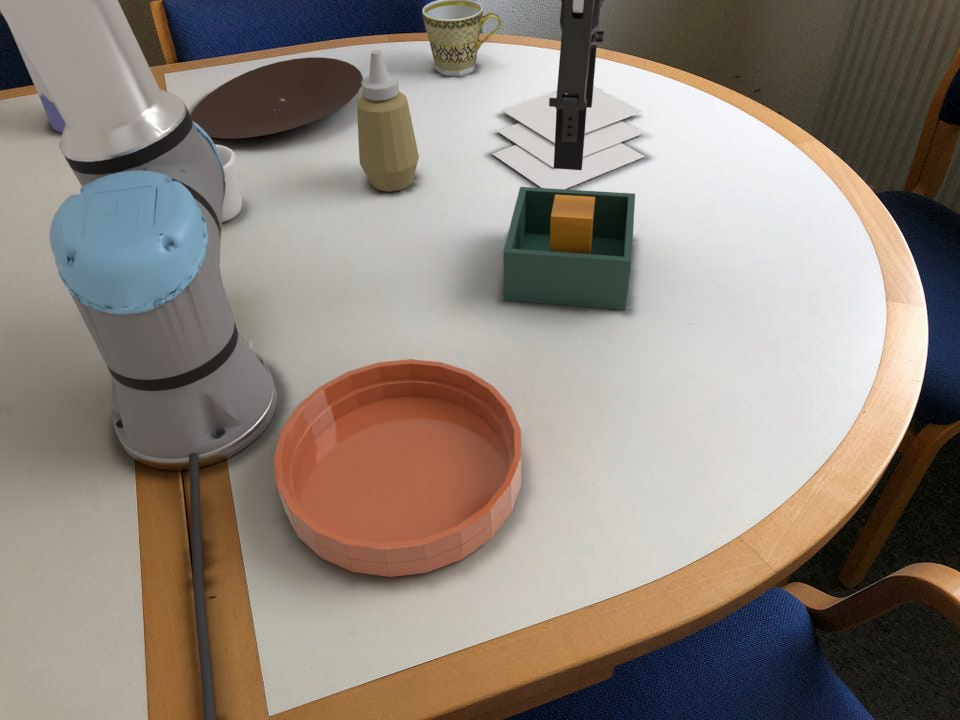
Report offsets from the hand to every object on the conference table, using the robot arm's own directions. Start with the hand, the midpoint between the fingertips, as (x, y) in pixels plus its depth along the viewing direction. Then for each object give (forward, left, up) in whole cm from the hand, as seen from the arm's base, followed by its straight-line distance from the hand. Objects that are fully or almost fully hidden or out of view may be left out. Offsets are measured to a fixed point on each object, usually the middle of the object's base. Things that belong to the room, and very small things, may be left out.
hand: (573, 135), depth 82 cm
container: (+30, +80, -17) cm, 87 cm away
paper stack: (+33, +3, -17) cm, 37 cm away
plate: (+37, +50, -17) cm, 64 cm away
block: (0, 0, -17) cm, 17 cm away
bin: (0, 0, -17) cm, 17 cm away
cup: (+5, +47, -17) cm, 50 cm away
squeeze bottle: (+17, +26, -17) cm, 35 cm away
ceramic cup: (+55, +23, -17) cm, 62 cm away
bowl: (-33, +12, -17) cm, 39 cm away
